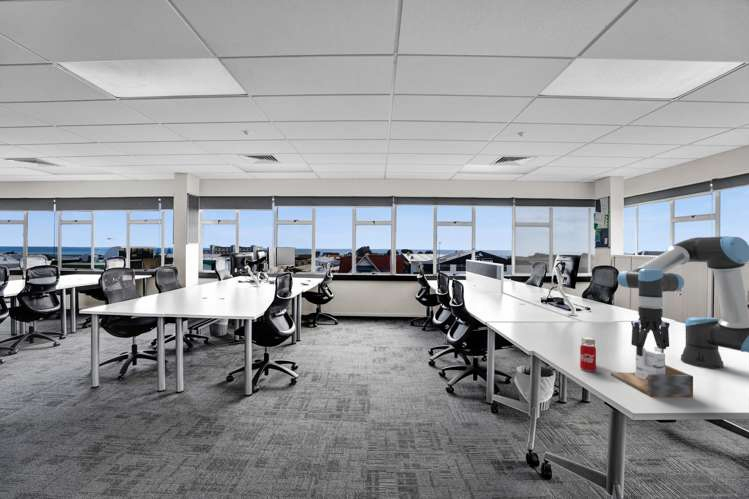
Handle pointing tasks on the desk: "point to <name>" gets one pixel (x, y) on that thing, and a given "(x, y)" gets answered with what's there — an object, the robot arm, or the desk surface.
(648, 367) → the ink box
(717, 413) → the desk surface
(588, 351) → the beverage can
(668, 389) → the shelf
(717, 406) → the desk surface
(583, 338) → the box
